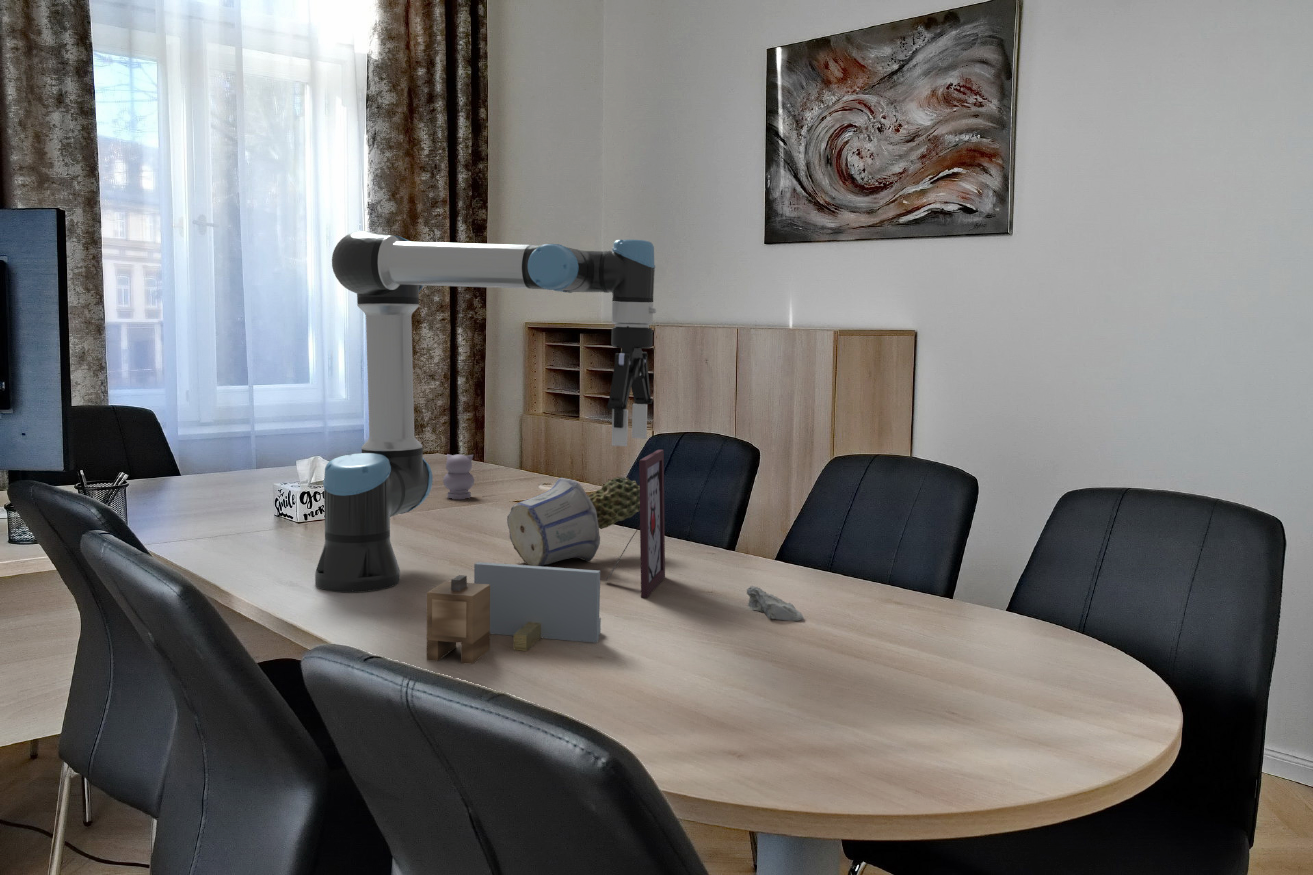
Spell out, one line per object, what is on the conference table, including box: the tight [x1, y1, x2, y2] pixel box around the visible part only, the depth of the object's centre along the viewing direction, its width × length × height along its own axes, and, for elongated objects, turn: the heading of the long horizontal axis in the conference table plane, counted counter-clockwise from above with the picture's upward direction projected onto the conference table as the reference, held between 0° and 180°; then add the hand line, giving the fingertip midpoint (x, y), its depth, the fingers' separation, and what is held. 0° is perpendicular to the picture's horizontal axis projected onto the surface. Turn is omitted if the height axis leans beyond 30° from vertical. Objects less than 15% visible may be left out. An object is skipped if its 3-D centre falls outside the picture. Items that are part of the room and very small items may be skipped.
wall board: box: [473, 561, 602, 644], centre depth 169 cm, size 20×6×11 cm, turn 78°
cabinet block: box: [426, 574, 491, 665], centre depth 157 cm, size 7×7×12 cm
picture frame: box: [605, 449, 666, 599], centre depth 200 cm, size 17×10×25 cm, turn 168°
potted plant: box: [506, 476, 640, 567], centre depth 222 cm, size 18×18×30 cm
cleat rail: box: [513, 622, 542, 652], centre depth 163 cm, size 2×7×2 cm, turn 168°
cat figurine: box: [442, 453, 475, 500], centre depth 294 cm, size 8×8×12 cm
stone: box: [746, 585, 804, 622], centre depth 185 cm, size 6×12×4 cm, turn 18°
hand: (629, 442), depth 197 cm, fingers open, 13 cm apart
